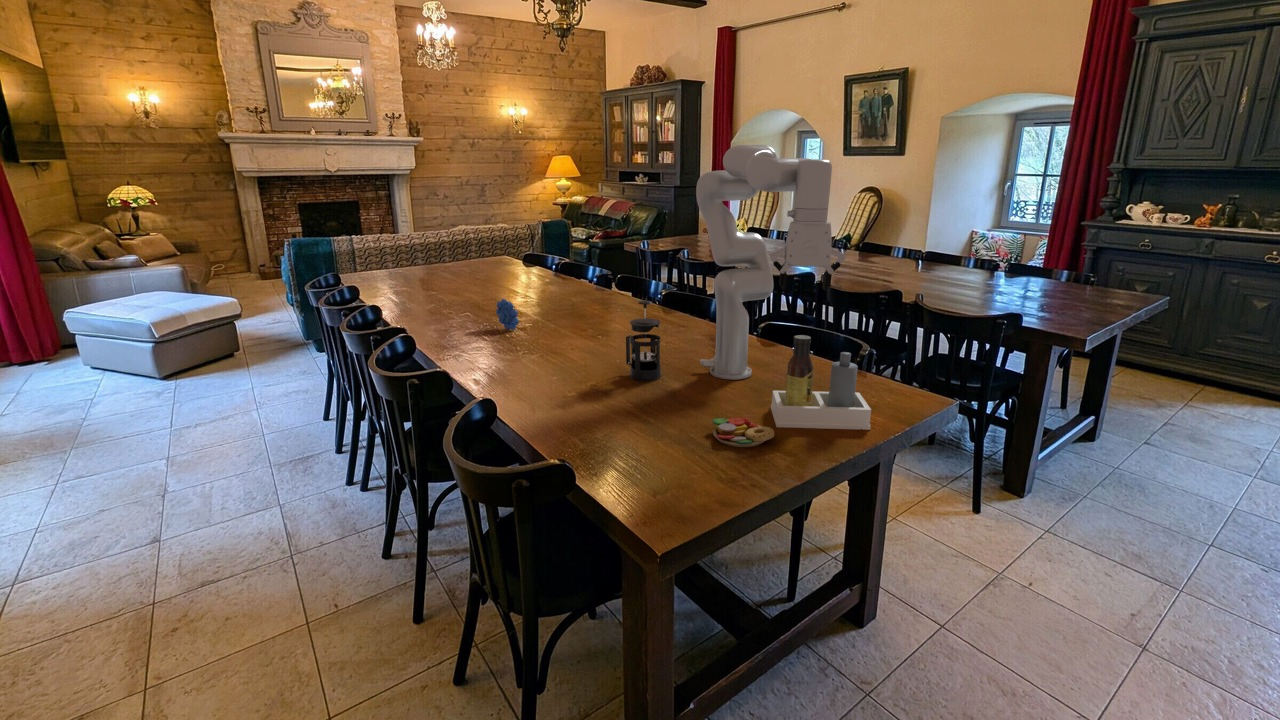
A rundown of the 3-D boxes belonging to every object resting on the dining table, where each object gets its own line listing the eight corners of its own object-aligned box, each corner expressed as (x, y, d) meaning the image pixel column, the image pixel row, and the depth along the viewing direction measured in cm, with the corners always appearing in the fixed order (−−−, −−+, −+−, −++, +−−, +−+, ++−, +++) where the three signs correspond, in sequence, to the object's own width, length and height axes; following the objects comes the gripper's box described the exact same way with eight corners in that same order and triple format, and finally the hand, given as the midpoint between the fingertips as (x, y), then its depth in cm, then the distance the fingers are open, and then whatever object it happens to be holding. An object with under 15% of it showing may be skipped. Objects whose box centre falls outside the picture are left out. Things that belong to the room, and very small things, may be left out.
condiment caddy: (776, 427, 146) (780, 360, 141) (770, 408, 158) (774, 345, 152) (870, 429, 144) (878, 361, 139) (857, 410, 156) (864, 346, 150)
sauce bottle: (810, 419, 148) (817, 341, 141) (784, 418, 149) (789, 340, 143) (809, 409, 154) (815, 334, 148) (784, 408, 155) (789, 333, 149)
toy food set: (779, 446, 137) (780, 433, 136) (725, 454, 134) (726, 440, 133) (752, 423, 149) (753, 411, 148) (702, 430, 146) (703, 417, 145)
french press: (668, 374, 183) (669, 300, 176) (652, 384, 176) (652, 306, 169) (636, 368, 189) (635, 296, 182) (619, 377, 182) (617, 302, 175)
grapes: (489, 329, 236) (487, 299, 232) (503, 326, 241) (500, 296, 237) (510, 334, 229) (507, 303, 226) (523, 330, 235) (521, 299, 231)
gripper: (773, 217, 136) (768, 292, 142) (853, 217, 135) (844, 293, 140) (770, 214, 143) (766, 285, 149) (845, 214, 142) (838, 286, 147)
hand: (804, 289), depth 145 cm, fingers open, 9 cm apart
